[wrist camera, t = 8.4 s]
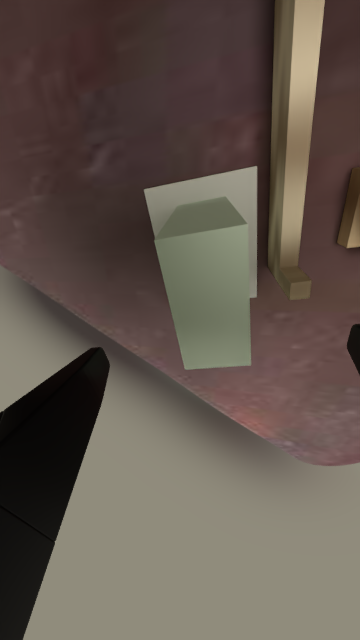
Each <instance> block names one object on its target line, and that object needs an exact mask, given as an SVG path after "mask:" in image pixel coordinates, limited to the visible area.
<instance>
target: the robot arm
mask: <svg viewBox="0 0 360 640" xmlns="http://www.w3.org/2000/svg"><path fill="white" fill-rule="evenodd" d="M347 349H348V352H349V354H350V356H351V358H352V360H353V362H354V364H355V366H356V368H357V370H358V373H359V375H360V324H355V325H353V326H352V328H351V331H350V335H349V338H348V342H347ZM109 368H110V364H109V361H108V359H107V356H106V354H105V352H104V350H103V349H102V348H101V347H95V348H90V349H89V350H88V351H86V352H85V353H83V354H82V355H80V356H79V357H78V358H76V359H75V360H73V361H72V362H71V363H69V364H68V365H67V366H65V367H64V368H62V369H61V370H59V371H58V372H57V373H55V374H54V375H52V376H51V377H50V378H48V379H47V380H45V381H44V382H43V383H41V384H40V385H38V386H37V387H36V388H34V389H33V390H31V391H30V392H29V393H27V394H26V395H24V396H23V397H22V398H20V399H19V400H18V401H16V402H15V403H13V404H12V405H10V406H9V407H8V408H6V409H5V410H4V411H2V412H0V640H23V637H24V634H25V631H26V628H27V625H28V622H29V619H30V616H31V613H32V610H33V607H34V604H35V601H36V598H37V595H38V592H39V589H40V586H41V584H42V581H43V577H44V574H45V572H46V569H47V565H48V563H49V559H50V556H51V554H52V551H53V547H54V545H55V542H54V541H56V538H57V535H58V532H59V529H60V526H61V523H62V520H63V517H64V514H65V511H66V508H67V505H68V502H69V499H70V496H71V493H72V490H73V487H74V484H75V481H76V479H77V476H78V472H79V469H80V467H81V463H82V461H83V458H84V454H85V452H86V449H87V446H88V443H89V440H90V436H91V433H92V431H93V428H94V425H95V422H96V418H97V416H98V413H99V409H100V407H101V403H102V399H103V396H104V391H105V387H106V382H107V378H108V373H109Z"/></svg>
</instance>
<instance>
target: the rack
mask: <svg viewBox="0 0 360 640" xmlns="http://www.w3.org/2000/svg"><path fill="white" fill-rule="evenodd" d="M324 3H325V0H275V21H274V56H273V92H272V127H271V163H270V198H269V234H268V268H269V270H270V271H271V273H272V274H273V276H274V277H275V279H276V281H277V282H278V284H279V285H280V287H281V288H282V290H283V291H284V293H285V294H286V296H287V297H288V299H289V300H296V299H305V298H309V297H310V290H311V283H312V280H311V279H310V278H309V277H308V276H307V275H306V274H305V273H304V272H303V271H302V270H301V269H300V268H299V267H298V258H299V249H300V239H301V229H302V219H303V209H304V199H305V190H306V180H307V170H308V160H309V150H310V140H311V131H312V121H313V111H314V101H315V91H316V81H317V71H318V62H319V52H320V42H321V32H322V22H323V12H324Z"/></svg>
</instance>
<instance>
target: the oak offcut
mask: <svg viewBox="0 0 360 640" xmlns="http://www.w3.org/2000/svg"><path fill="white" fill-rule="evenodd" d="M337 243H338V244H340V245H342V246H344V247H346V248H352V247H360V167H358V168H353V169H352V173H351V178H350V183H349V188H348V192H347V197H346V202H345V207H344V212H343V216H342V221H341V226H340V231H339V235H338V240H337Z"/></svg>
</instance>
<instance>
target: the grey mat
mask: <svg viewBox="0 0 360 640" xmlns="http://www.w3.org/2000/svg"><path fill="white" fill-rule="evenodd" d="M144 193H145V197H146V202H147V206H148V210H149V215H150V219H151V223H152V228H153V232H154V236H155V238H156V237H157V235H158V234H159V232H160V231H161V229H162V228H163V227H164V225H165V224H166V222H167V221H168V219H169V218H170V216H171V215H172V213H173V212H174V211H175V209H176V208H177V206H178V205H183V204H188V203H193V202H198V201H203V200H208V199H213V198H219V197H224V196H226V198H227V199H228V200H229V201H230V203H231V204H232V205H233V206H234V207H235V209H236V210H237V211H238V212H239V214H240V215H241V216H242V217H243V219H244V220H245V221H246V222H247V224H248V254H249V296H250V298H253V297H257V166H254V167H249V168H244V169H239V170H234V171H230V172H225V173H220V174H215V175H210V176H206V177H201V178H196V179H191V180H186V181H181V182H177V183H172V184H167V185H162V186H157V187H153V188H148V189H144Z"/></svg>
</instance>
